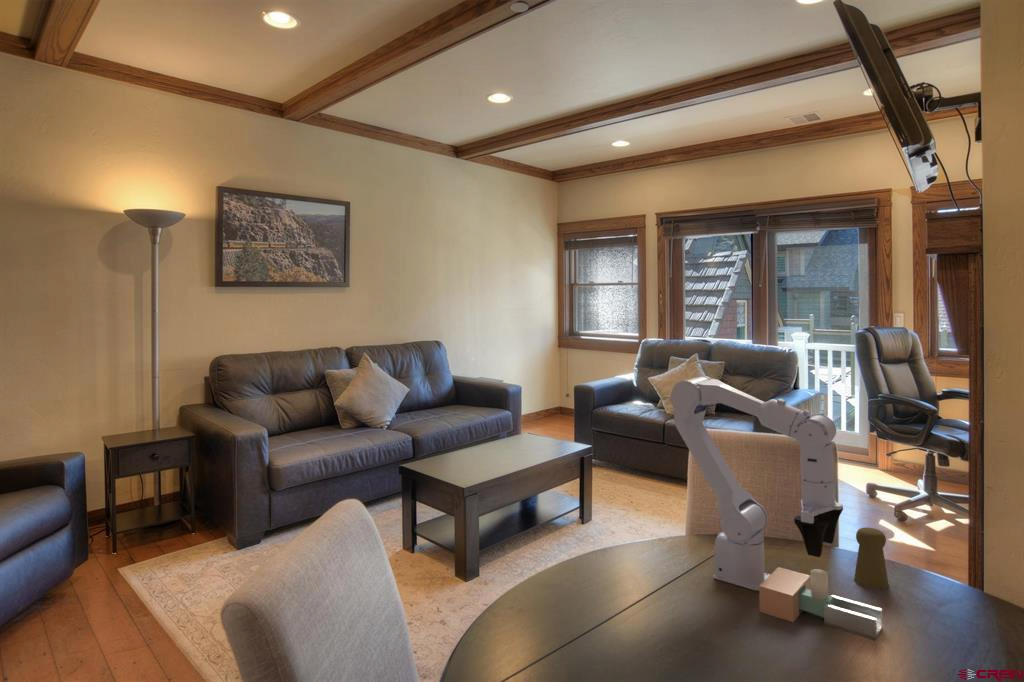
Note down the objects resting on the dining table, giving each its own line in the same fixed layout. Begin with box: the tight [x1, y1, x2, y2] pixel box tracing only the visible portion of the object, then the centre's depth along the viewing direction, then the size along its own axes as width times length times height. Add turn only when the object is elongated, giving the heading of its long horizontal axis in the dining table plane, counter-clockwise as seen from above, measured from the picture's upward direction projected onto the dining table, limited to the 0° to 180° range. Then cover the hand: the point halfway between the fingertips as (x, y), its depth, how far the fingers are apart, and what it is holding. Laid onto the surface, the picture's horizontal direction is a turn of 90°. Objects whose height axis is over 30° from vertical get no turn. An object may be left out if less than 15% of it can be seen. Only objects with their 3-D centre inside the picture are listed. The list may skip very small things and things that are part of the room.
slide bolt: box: [799, 568, 834, 617], centre depth 110 cm, size 8×3×8 cm, turn 46°
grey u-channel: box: [823, 594, 883, 641], centre depth 105 cm, size 8×5×4 cm, turn 46°
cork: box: [853, 527, 889, 590], centre depth 120 cm, size 6×6×11 cm
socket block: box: [758, 566, 811, 623], centre depth 113 cm, size 6×10×5 cm, turn 136°
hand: (820, 548), depth 113 cm, fingers open, 7 cm apart
